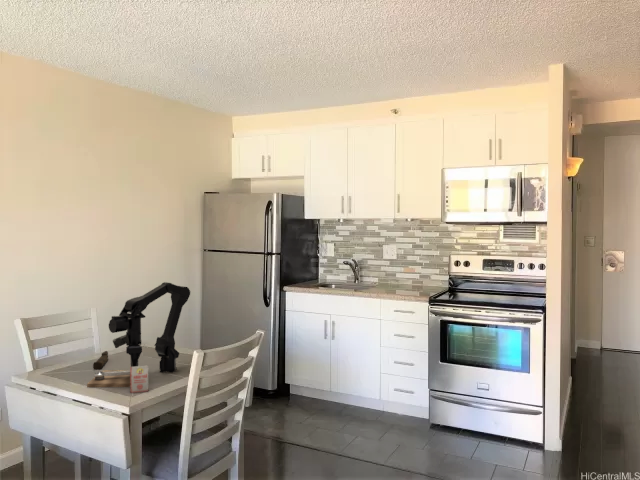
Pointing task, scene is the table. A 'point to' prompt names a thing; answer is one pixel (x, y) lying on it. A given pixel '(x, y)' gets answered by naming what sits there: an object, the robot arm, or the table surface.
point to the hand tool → (101, 361)
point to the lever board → (110, 380)
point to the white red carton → (139, 379)
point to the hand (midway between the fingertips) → (134, 365)
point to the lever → (114, 372)
